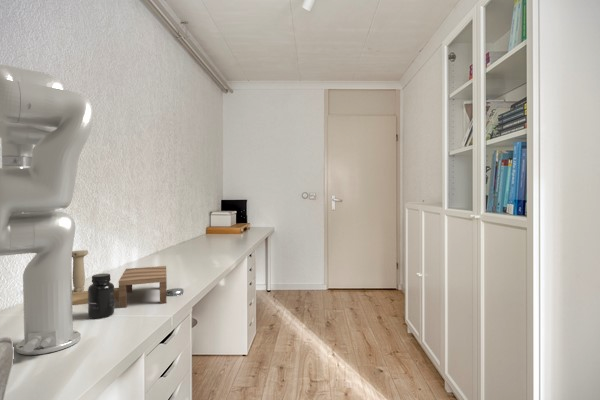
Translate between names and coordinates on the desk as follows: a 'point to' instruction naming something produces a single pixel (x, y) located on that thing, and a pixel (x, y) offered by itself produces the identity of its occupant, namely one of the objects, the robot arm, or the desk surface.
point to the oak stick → (83, 297)
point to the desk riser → (142, 281)
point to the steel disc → (174, 292)
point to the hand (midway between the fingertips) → (19, 220)
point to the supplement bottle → (100, 297)
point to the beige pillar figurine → (78, 270)
